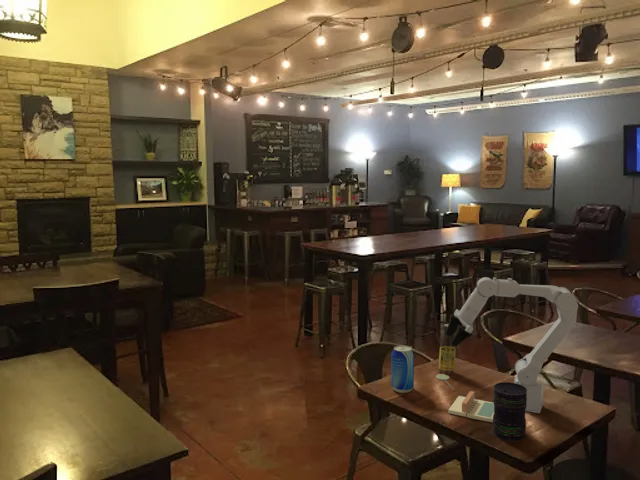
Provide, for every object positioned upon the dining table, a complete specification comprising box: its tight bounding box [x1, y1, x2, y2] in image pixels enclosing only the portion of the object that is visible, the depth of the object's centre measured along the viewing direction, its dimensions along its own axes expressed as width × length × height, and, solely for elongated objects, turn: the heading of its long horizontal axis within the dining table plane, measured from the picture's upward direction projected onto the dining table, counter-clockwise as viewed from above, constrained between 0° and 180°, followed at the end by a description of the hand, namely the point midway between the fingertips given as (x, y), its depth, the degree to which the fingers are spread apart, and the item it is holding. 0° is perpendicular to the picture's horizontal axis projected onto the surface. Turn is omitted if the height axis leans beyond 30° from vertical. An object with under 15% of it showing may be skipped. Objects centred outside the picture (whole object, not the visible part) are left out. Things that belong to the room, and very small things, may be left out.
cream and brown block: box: [447, 390, 476, 418], centre depth 193 cm, size 6×13×4 cm, turn 151°
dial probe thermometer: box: [435, 373, 455, 391], centre depth 216 cm, size 5×1×15 cm
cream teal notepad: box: [466, 398, 494, 424], centre depth 190 cm, size 9×13×1 cm
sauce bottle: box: [438, 323, 457, 376], centre depth 225 cm, size 6×6×20 cm
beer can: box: [390, 345, 415, 394], centre depth 210 cm, size 8×8×16 cm
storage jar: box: [492, 381, 527, 443], centre depth 174 cm, size 10×10×15 cm
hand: (450, 339), depth 197 cm, fingers open, 7 cm apart
